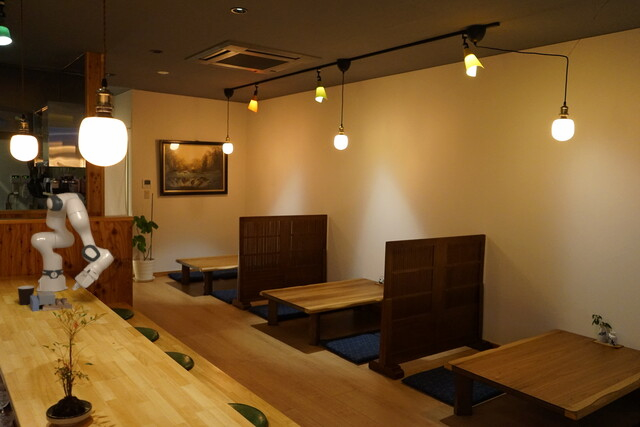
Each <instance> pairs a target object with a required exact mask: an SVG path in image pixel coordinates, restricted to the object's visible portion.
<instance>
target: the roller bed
mask: <svg viewBox="0 0 640 427" xmlns="http://www.w3.org/2000/svg"><path fill="white" fill-rule="evenodd" d="M41 306H42V312H47V310H51V311H57V310H58V309H59V311H60V309H61V306H62V307H63V309H61V310H68V309H72V308H73V303H70V302H69V300H68V297H61V298H58V297H57V298H56V297H55V304H45V305H41ZM64 308H65V309H64Z"/></svg>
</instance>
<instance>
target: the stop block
mask: <svg viewBox="0 0 640 427" xmlns="http://www.w3.org/2000/svg"><path fill="white" fill-rule="evenodd" d="M29 307H30V309H31V311H32V312H40V305H39V299H38V298H37V294H33V296H30V305H29Z"/></svg>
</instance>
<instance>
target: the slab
mask: <svg viewBox="0 0 640 427" xmlns="http://www.w3.org/2000/svg"><path fill="white" fill-rule="evenodd" d="M36 296H37V298H38V299H39V306H42V305H45V304H55V299H56V294H55V293H54V292H53V291H44V292H43V291H36Z"/></svg>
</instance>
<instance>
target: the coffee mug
mask: <svg viewBox="0 0 640 427" xmlns="http://www.w3.org/2000/svg"><path fill="white" fill-rule="evenodd" d="M34 292H35V286H34V285H23V286H22V285H21V286H18V287H17V295H18V301H19V306H30V296H33V295H35V294H34Z"/></svg>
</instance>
